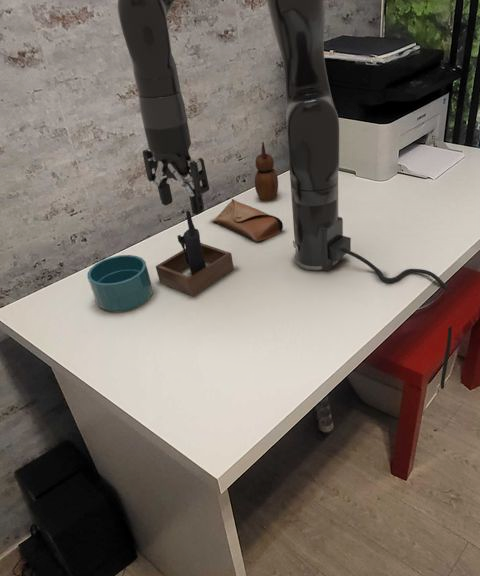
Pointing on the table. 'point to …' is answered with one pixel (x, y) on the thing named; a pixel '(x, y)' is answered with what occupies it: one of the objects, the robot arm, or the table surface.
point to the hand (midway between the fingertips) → (182, 208)
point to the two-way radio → (192, 247)
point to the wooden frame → (200, 280)
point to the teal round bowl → (120, 283)
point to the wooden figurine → (265, 176)
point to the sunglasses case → (249, 221)
